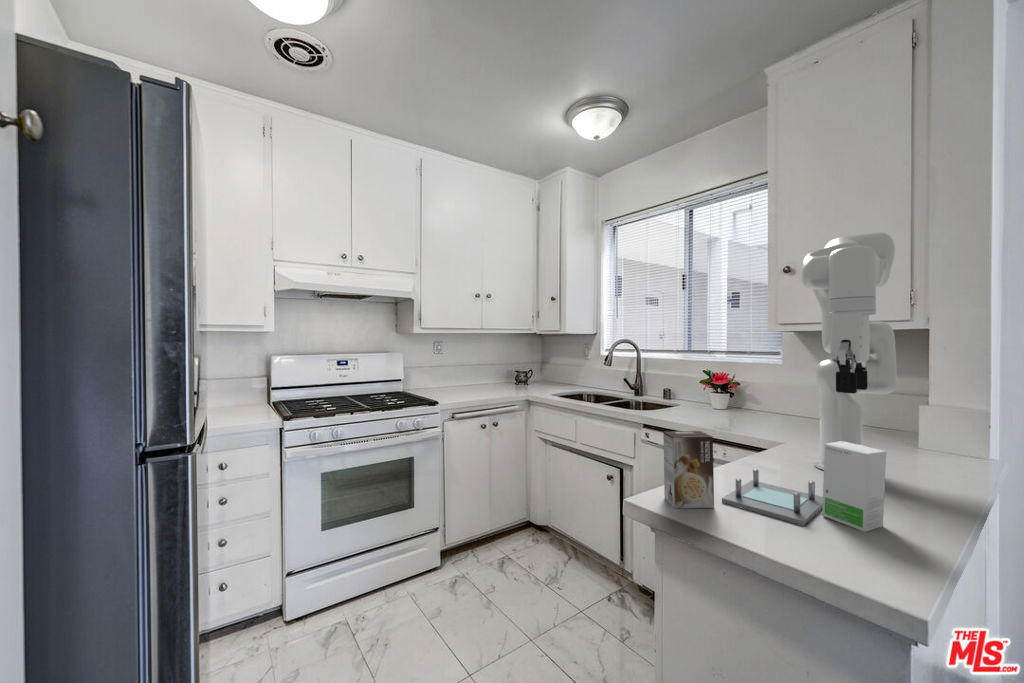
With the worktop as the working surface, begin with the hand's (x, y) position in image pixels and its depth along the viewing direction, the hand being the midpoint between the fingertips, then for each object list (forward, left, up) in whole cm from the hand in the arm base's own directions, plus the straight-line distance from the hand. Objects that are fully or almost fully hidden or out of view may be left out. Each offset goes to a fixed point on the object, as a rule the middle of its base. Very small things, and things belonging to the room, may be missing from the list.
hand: (852, 390), depth 85 cm
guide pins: (+1, -14, -27) cm, 30 cm away
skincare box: (0, 0, -27) cm, 27 cm away
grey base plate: (+1, -14, -27) cm, 30 cm away
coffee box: (+16, -27, -27) cm, 41 cm away
